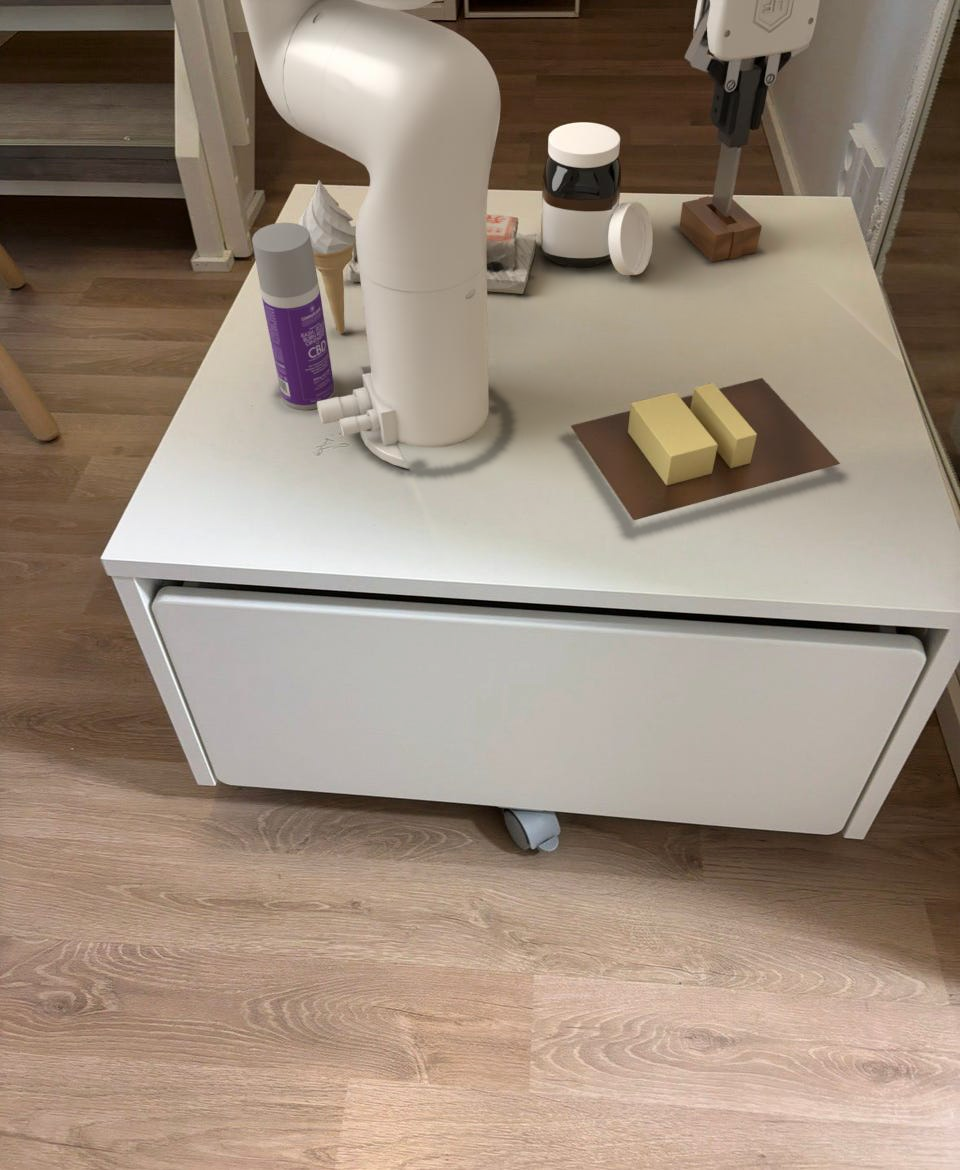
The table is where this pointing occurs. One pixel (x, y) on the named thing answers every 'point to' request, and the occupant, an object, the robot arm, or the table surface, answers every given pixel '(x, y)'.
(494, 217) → the packaged product
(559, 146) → the spread jar
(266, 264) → the container
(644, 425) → the butter block
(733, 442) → the butter slice
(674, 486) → the board
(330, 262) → the ice cream cone
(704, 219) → the knife block
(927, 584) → the table surface
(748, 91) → the knife
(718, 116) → the robot arm
